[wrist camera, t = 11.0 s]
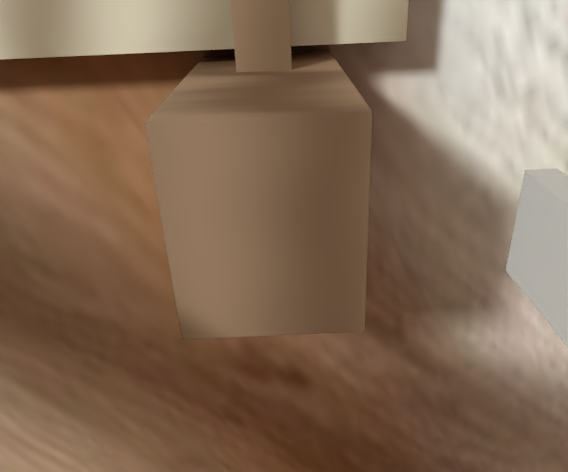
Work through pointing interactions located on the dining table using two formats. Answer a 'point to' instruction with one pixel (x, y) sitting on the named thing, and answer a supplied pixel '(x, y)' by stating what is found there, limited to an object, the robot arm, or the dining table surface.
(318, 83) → the brown block with handle
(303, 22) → the board
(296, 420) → the dining table surface
